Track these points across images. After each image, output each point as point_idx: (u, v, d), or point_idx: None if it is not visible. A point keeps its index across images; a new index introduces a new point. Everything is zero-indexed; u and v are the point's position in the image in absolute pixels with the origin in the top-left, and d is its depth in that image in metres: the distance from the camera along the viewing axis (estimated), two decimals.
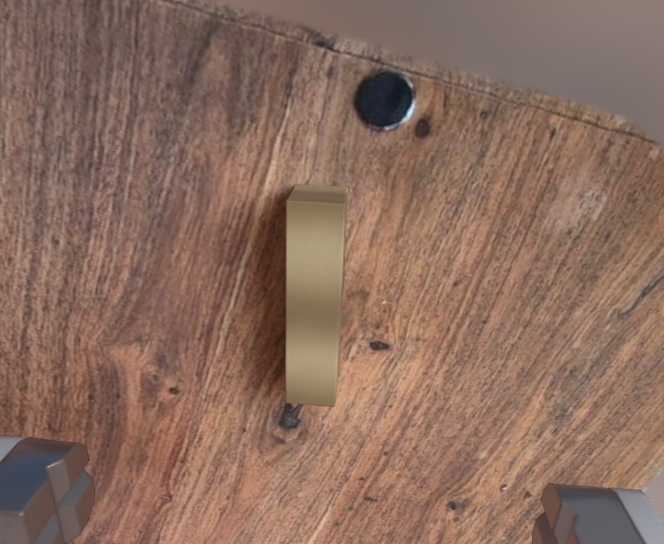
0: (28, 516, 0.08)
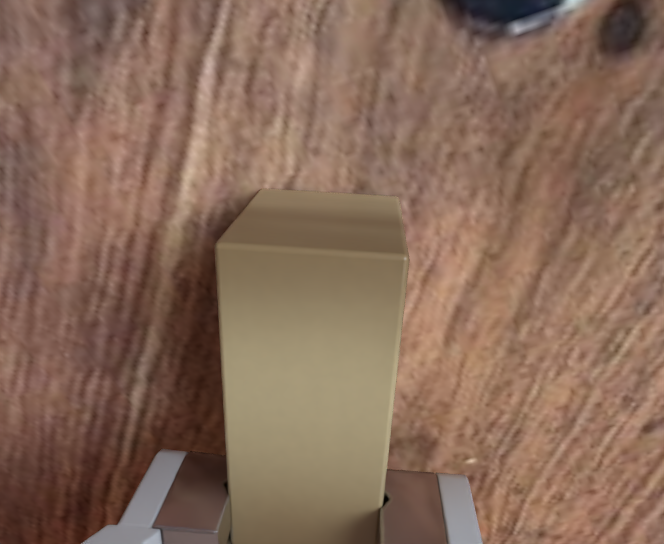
0: (220, 534, 0.07)
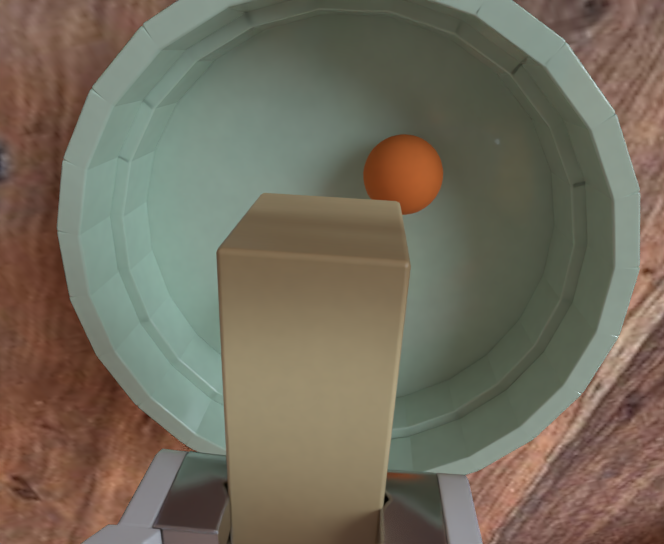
0: (220, 534, 0.07)
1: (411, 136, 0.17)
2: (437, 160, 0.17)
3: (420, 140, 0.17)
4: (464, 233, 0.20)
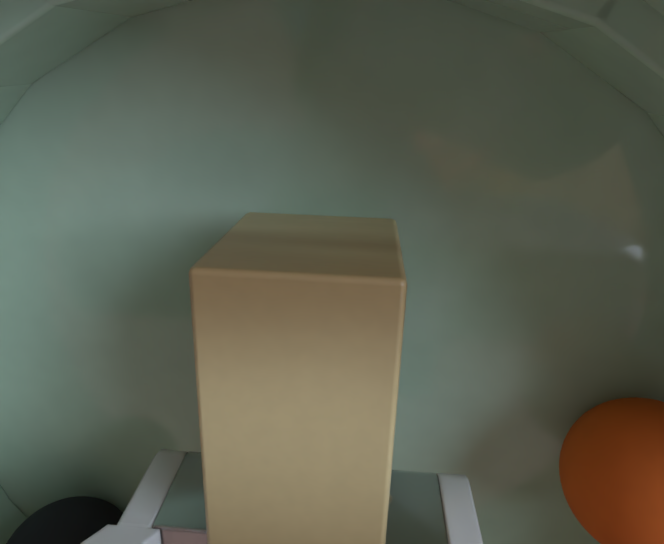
0: None
1: (619, 510, 0.08)
2: (589, 436, 0.09)
3: (606, 488, 0.08)
4: (550, 416, 0.10)
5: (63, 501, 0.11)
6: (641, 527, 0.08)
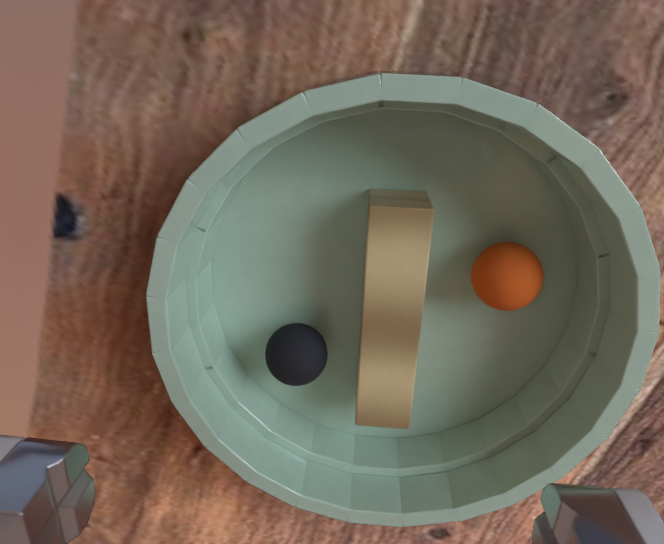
0: (28, 516, 0.08)
1: (487, 259, 0.20)
2: None
3: (488, 253, 0.20)
4: None
5: (279, 328, 0.23)
6: (491, 266, 0.20)
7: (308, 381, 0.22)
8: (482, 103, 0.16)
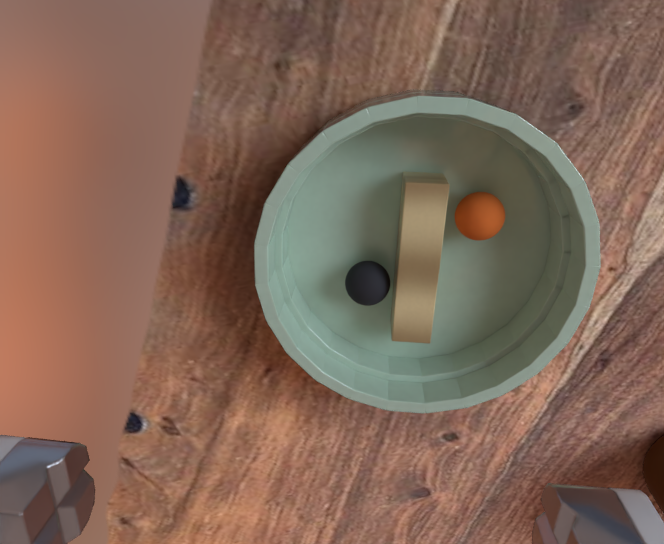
0: (28, 516, 0.08)
1: None
2: None
3: None
4: (493, 244, 0.32)
5: (349, 270, 0.32)
6: None
7: (387, 292, 0.31)
8: (481, 114, 0.24)
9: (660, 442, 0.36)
